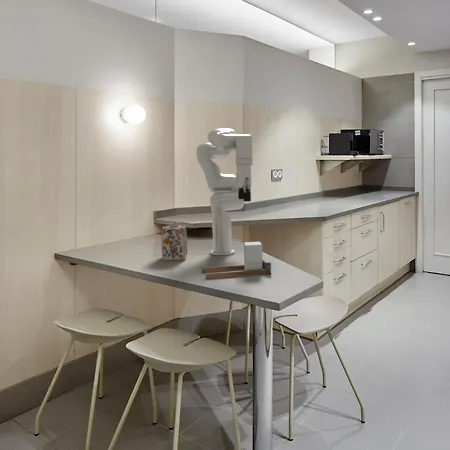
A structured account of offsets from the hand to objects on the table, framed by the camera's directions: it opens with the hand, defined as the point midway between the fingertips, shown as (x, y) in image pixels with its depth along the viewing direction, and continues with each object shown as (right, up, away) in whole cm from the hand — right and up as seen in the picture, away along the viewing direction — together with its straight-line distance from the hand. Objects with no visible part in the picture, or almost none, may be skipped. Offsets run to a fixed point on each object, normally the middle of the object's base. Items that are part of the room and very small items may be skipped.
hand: (244, 200), depth 227 cm
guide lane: (-5, -32, -11) cm, 34 cm away
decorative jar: (-34, -28, +22) cm, 49 cm away
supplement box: (+3, -32, -9) cm, 33 cm away
